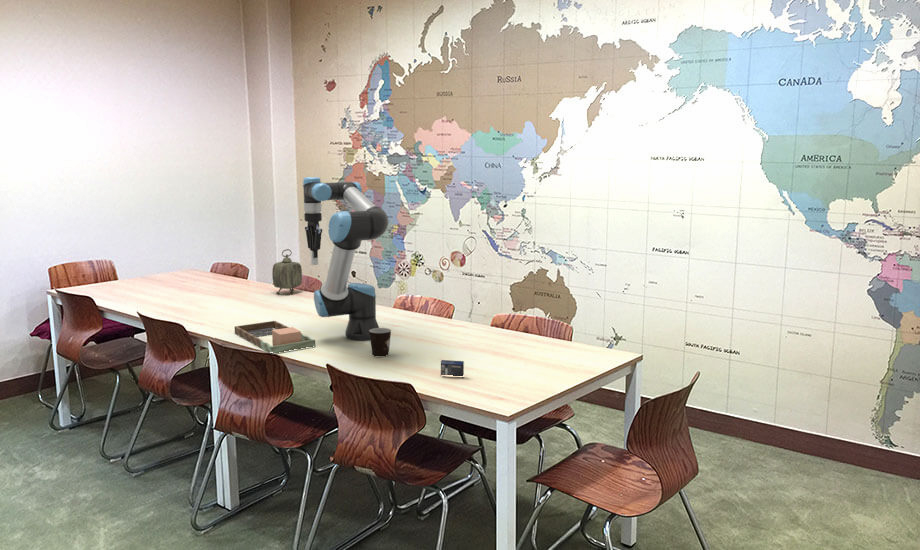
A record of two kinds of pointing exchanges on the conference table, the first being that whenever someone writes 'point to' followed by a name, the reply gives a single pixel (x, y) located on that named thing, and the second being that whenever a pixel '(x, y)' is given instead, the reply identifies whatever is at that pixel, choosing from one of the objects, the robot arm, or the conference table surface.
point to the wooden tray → (250, 329)
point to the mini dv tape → (452, 367)
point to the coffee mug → (380, 341)
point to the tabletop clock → (287, 274)
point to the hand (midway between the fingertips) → (314, 264)
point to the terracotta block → (285, 336)
